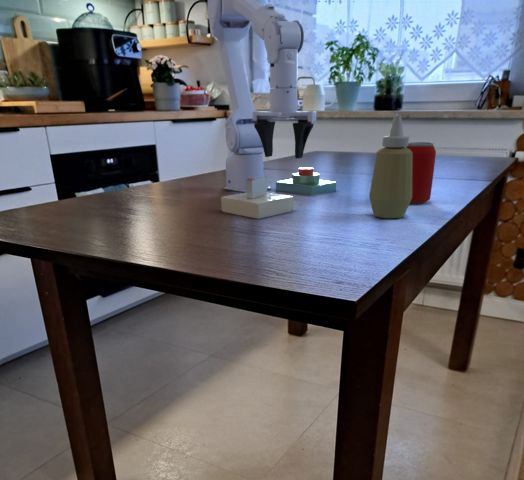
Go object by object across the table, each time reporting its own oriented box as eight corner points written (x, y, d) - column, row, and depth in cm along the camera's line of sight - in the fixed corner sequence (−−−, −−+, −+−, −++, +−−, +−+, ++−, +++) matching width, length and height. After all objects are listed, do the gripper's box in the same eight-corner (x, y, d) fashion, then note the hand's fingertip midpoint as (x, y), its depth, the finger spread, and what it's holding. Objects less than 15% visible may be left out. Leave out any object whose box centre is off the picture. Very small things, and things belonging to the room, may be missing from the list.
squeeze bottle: (385, 222, 96) (395, 116, 88) (359, 214, 102) (365, 115, 94) (419, 217, 99) (430, 114, 91) (391, 210, 106) (400, 113, 98)
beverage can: (426, 199, 116) (433, 141, 111) (432, 204, 110) (440, 144, 105) (396, 199, 117) (401, 142, 111) (400, 204, 111) (406, 144, 105)
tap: (261, 193, 108) (260, 175, 107) (267, 194, 108) (267, 175, 106) (246, 198, 104) (245, 179, 102) (252, 198, 103) (251, 179, 102)
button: (295, 175, 127) (295, 168, 127) (305, 174, 130) (305, 166, 129) (306, 177, 125) (306, 169, 124) (316, 175, 127) (316, 168, 126)
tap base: (221, 211, 108) (220, 196, 106) (256, 204, 114) (256, 189, 113) (258, 219, 100) (257, 202, 99) (293, 211, 107) (293, 195, 105)
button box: (275, 190, 130) (275, 174, 128) (299, 186, 136) (299, 170, 134) (312, 196, 122) (312, 178, 120) (335, 191, 128) (336, 174, 126)
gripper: (244, 89, 108) (246, 157, 114) (306, 87, 102) (304, 160, 108) (261, 88, 114) (262, 154, 120) (321, 87, 107) (319, 157, 113)
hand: (283, 157), depth 114 cm, fingers open, 7 cm apart
